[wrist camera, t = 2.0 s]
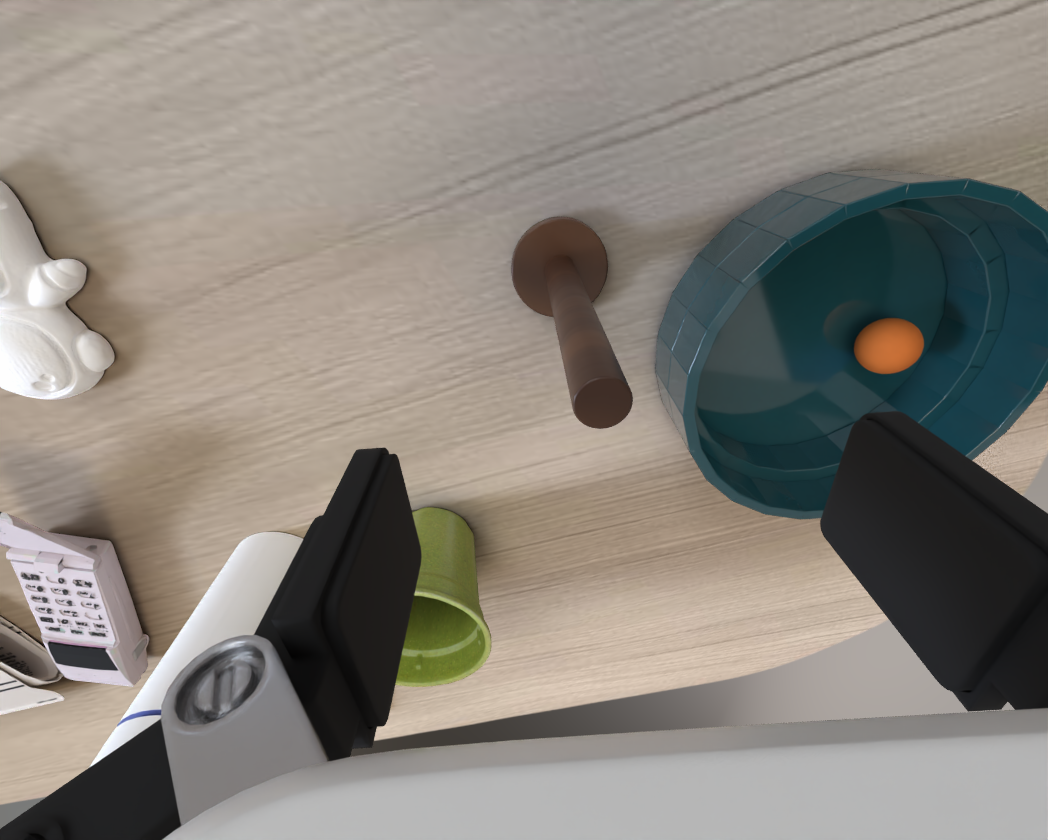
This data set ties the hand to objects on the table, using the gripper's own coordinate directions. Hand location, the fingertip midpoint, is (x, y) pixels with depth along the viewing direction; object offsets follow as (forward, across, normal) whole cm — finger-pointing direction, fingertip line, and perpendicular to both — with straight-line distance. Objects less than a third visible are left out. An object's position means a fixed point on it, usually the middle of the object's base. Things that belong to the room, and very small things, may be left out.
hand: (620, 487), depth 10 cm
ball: (+16, -18, +5) cm, 24 cm away
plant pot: (+18, +10, +18) cm, 28 cm away
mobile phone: (+18, +37, +21) cm, 46 cm away
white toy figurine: (+18, +29, -1) cm, 34 cm away
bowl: (+18, -14, +5) cm, 23 cm away
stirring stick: (+18, 0, 0) cm, 18 cm away
